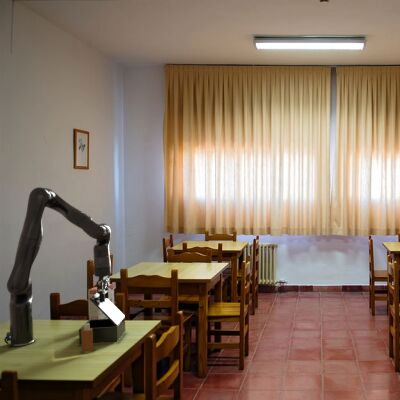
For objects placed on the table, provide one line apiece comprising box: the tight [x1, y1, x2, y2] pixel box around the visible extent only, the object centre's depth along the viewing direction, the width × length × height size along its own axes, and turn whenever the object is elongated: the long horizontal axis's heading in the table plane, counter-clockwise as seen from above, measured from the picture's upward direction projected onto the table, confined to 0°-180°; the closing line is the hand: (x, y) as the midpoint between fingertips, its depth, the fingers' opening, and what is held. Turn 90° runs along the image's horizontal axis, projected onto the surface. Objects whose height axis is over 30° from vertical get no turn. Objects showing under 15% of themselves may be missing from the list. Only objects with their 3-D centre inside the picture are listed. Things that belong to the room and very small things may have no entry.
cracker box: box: [87, 283, 115, 320], centre depth 262 cm, size 14×6×21 cm, turn 168°
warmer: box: [78, 317, 126, 345], centre depth 240 cm, size 17×16×8 cm
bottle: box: [81, 323, 94, 353], centre depth 223 cm, size 5×5×12 cm
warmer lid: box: [90, 290, 126, 326], centre depth 240 cm, size 18×16×5 cm
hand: (104, 299), depth 239 cm, fingers closed on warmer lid, 6 cm apart
